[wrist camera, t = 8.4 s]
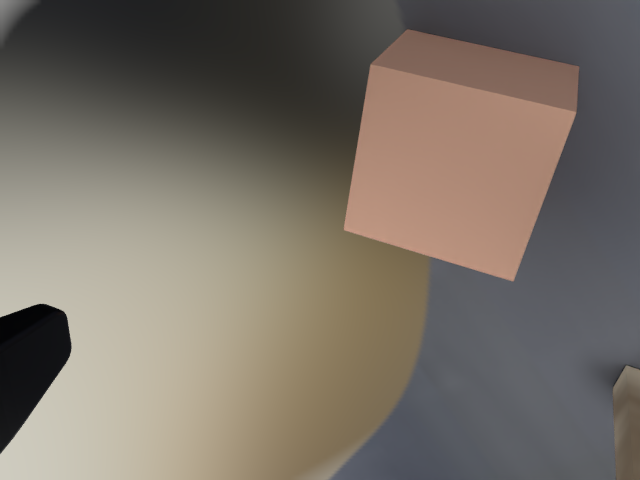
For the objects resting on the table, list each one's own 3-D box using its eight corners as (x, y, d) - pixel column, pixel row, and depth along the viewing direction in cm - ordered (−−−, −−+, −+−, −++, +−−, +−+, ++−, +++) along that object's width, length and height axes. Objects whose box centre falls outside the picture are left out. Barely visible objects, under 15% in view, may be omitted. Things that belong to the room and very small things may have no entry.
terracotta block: (525, 214, 20) (513, 281, 17) (380, 174, 21) (343, 230, 18) (579, 64, 17) (576, 112, 14) (408, 27, 18) (370, 64, 15)
